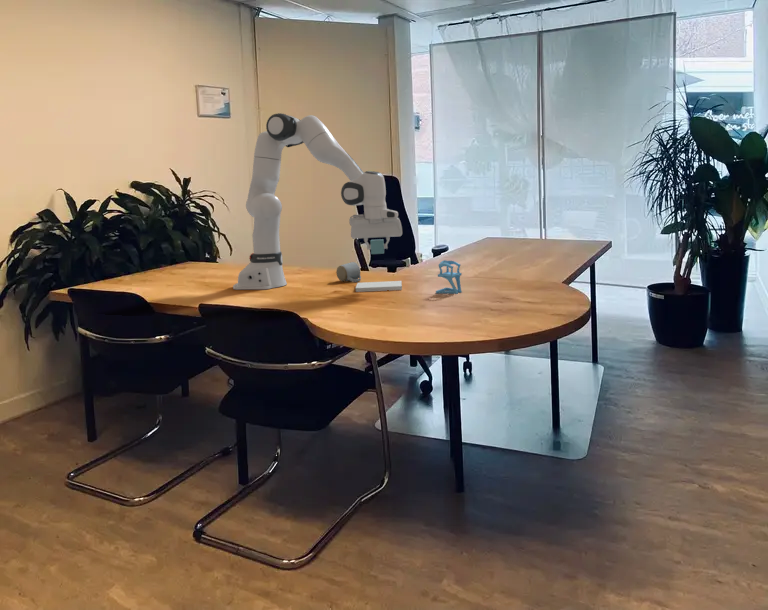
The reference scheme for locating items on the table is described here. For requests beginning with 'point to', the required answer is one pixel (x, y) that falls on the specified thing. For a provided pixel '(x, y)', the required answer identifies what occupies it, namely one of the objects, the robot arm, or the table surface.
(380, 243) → the teal block
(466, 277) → the table surface
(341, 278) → the ceramic mug
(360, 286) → the grey board
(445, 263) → the chair
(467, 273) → the table surface
